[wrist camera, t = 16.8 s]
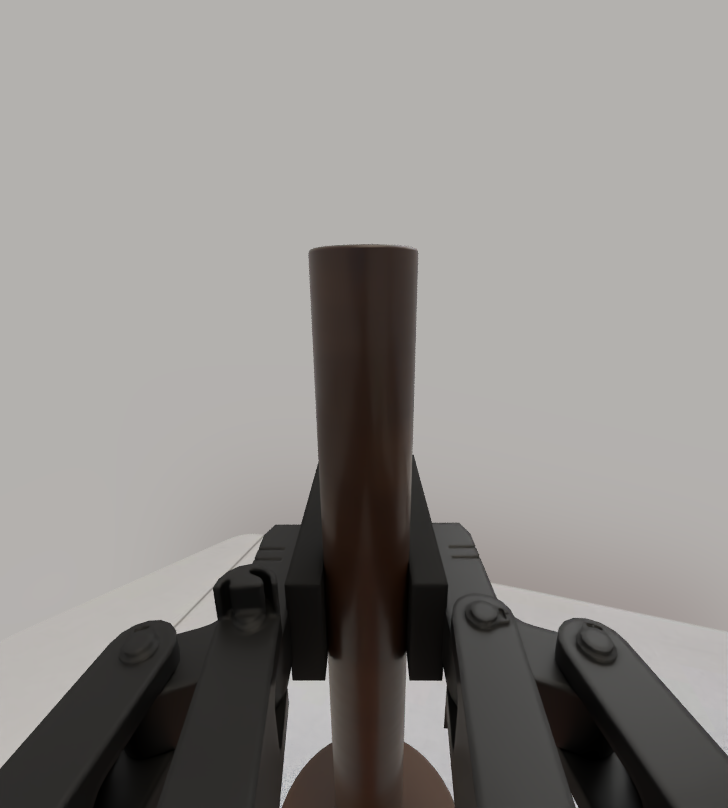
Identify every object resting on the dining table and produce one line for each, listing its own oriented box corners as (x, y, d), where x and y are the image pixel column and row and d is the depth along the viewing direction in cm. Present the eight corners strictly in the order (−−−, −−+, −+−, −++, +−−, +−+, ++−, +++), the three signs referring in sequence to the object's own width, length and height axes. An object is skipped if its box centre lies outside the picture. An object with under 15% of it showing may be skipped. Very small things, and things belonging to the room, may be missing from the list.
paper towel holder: (394, 732, 17) (403, 262, 11) (506, 925, 12) (626, 240, 6) (254, 826, 14) (170, 256, 8) (322, 1132, 9) (225, 207, 3)
